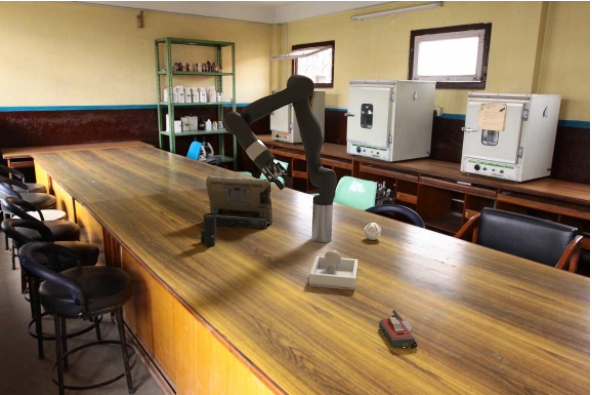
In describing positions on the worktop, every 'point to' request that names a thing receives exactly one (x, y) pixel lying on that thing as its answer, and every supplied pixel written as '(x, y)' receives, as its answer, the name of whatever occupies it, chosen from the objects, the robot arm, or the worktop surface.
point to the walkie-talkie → (397, 332)
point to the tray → (334, 274)
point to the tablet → (240, 201)
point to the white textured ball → (372, 231)
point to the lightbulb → (332, 260)
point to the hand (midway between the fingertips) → (287, 186)
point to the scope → (208, 230)
